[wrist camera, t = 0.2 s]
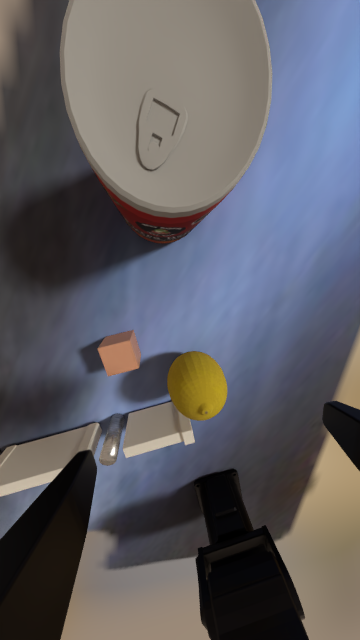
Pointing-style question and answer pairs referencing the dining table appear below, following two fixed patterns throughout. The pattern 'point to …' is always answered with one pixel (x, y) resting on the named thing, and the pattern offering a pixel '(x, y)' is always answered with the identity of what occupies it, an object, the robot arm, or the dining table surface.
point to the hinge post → (112, 440)
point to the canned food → (166, 103)
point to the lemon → (197, 385)
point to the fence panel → (156, 429)
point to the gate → (43, 458)
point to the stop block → (120, 353)
